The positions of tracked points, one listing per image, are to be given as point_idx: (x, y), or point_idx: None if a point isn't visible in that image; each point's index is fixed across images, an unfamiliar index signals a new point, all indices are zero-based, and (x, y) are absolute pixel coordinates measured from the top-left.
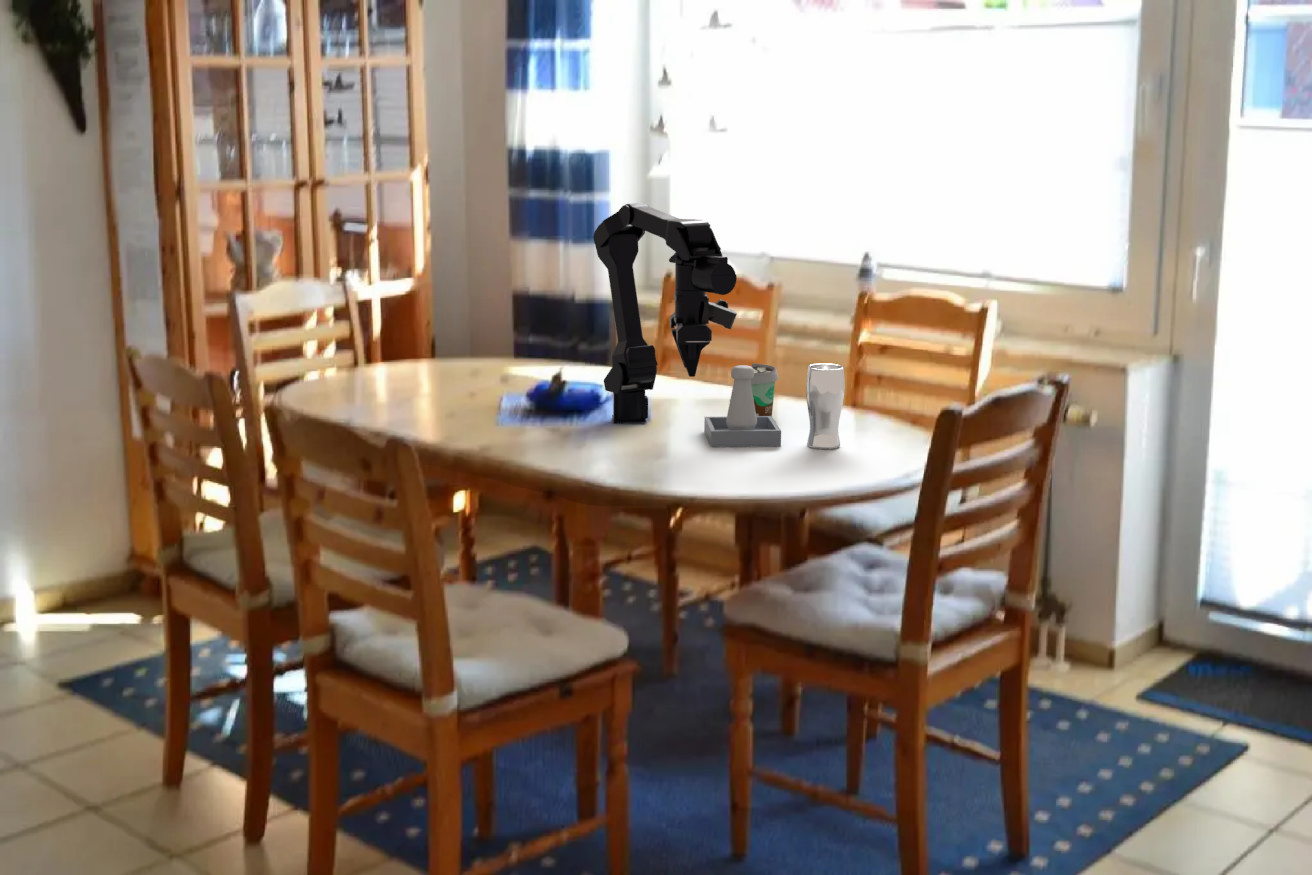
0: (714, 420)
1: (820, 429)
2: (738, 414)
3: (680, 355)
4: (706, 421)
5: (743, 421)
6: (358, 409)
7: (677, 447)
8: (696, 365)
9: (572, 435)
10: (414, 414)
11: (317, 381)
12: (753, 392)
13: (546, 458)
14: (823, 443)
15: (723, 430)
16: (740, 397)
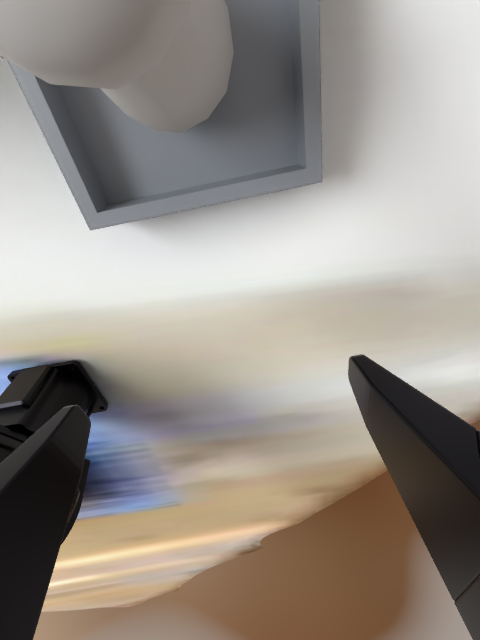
0: (92, 190)
1: None
2: (224, 53)
3: (69, 507)
4: (157, 215)
5: (228, 26)
6: (142, 577)
7: (308, 266)
8: (428, 402)
9: (220, 437)
10: (146, 554)
11: None
12: None
13: None
14: None
15: (308, 133)
16: (204, 13)
